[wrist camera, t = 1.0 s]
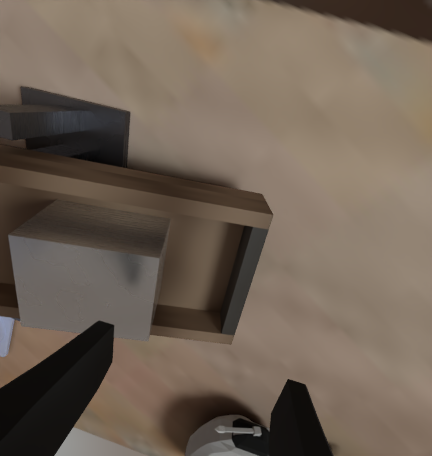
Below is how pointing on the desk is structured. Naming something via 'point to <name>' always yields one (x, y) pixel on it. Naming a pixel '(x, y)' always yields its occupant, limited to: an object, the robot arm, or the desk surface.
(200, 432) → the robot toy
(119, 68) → the desk surface
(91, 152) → the pivot stand
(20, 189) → the wooden rimmed tray
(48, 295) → the block
